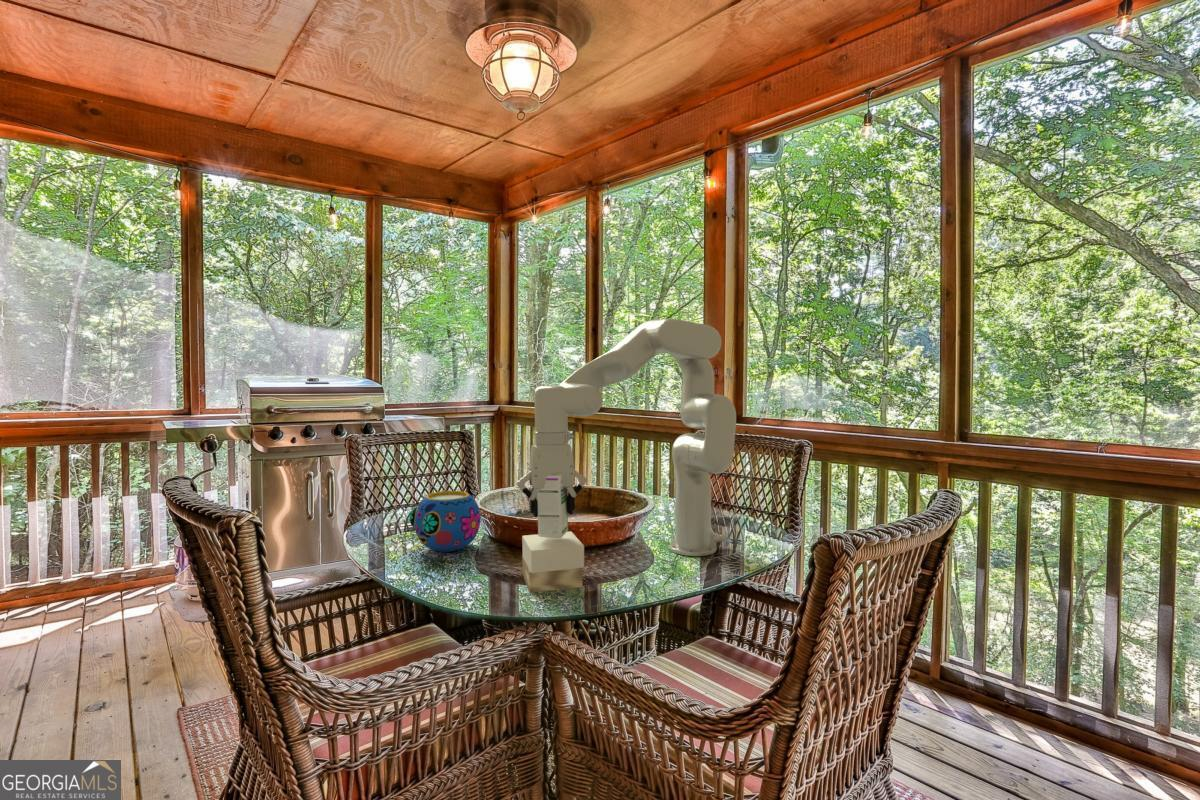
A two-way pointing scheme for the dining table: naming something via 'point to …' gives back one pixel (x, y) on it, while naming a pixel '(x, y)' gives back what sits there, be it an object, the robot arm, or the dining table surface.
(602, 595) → the dining table surface
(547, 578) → the tower base slab
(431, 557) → the dining table surface
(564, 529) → the syrup box
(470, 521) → the ceramic pot
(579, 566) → the tower top slab
